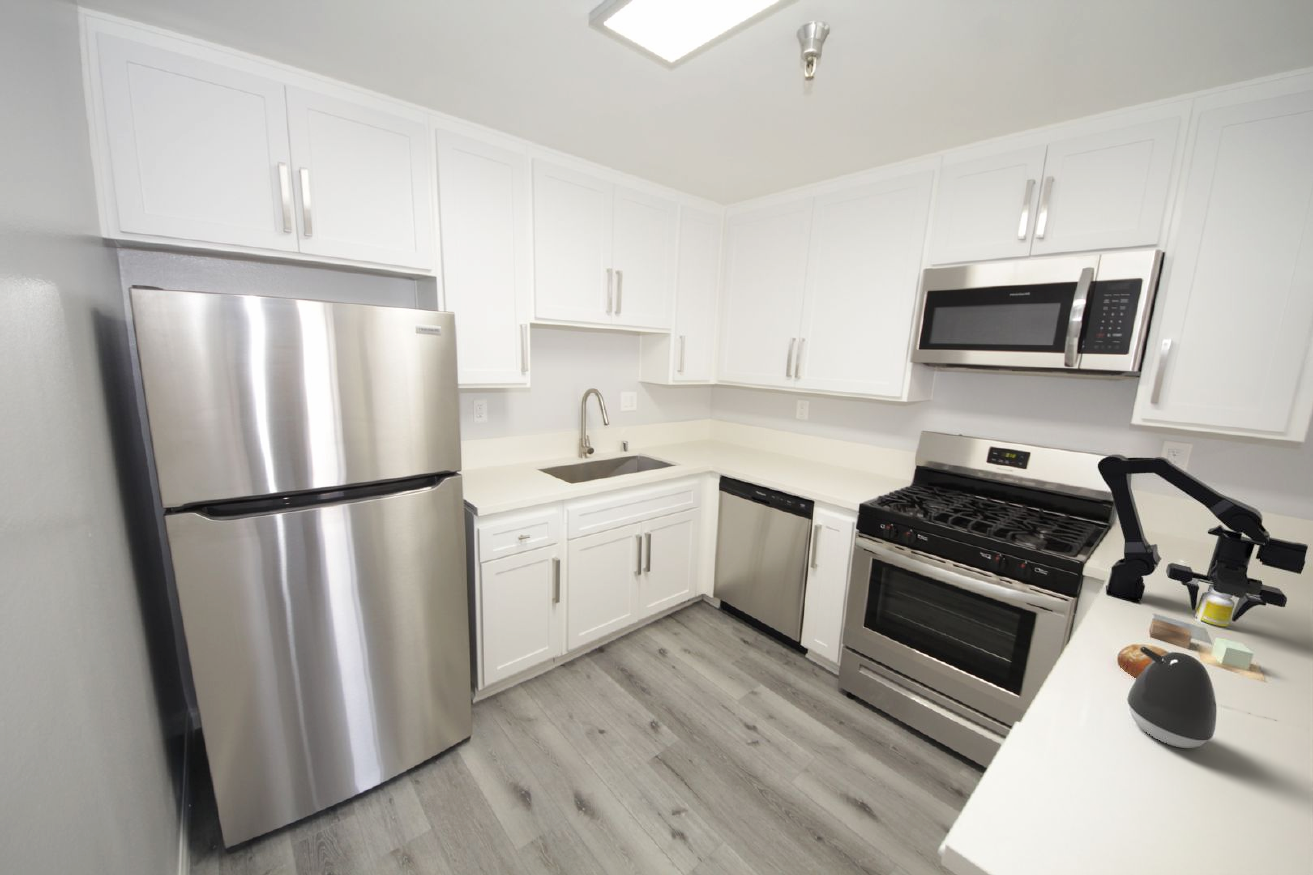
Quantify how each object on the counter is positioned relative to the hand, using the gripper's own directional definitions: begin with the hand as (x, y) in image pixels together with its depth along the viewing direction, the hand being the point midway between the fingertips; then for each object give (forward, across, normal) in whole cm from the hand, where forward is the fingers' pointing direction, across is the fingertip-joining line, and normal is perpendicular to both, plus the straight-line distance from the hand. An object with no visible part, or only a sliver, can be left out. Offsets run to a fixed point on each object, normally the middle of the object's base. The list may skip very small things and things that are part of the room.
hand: (1212, 615), depth 119 cm
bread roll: (+3, -13, -41) cm, 43 cm away
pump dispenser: (+3, -13, -62) cm, 63 cm away
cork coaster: (+2, 0, -22) cm, 22 cm away
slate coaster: (+2, -6, -10) cm, 12 cm away
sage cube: (+2, 0, -22) cm, 22 cm away
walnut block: (+3, -9, -20) cm, 22 cm away
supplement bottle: (+3, 0, 0) cm, 3 cm away
